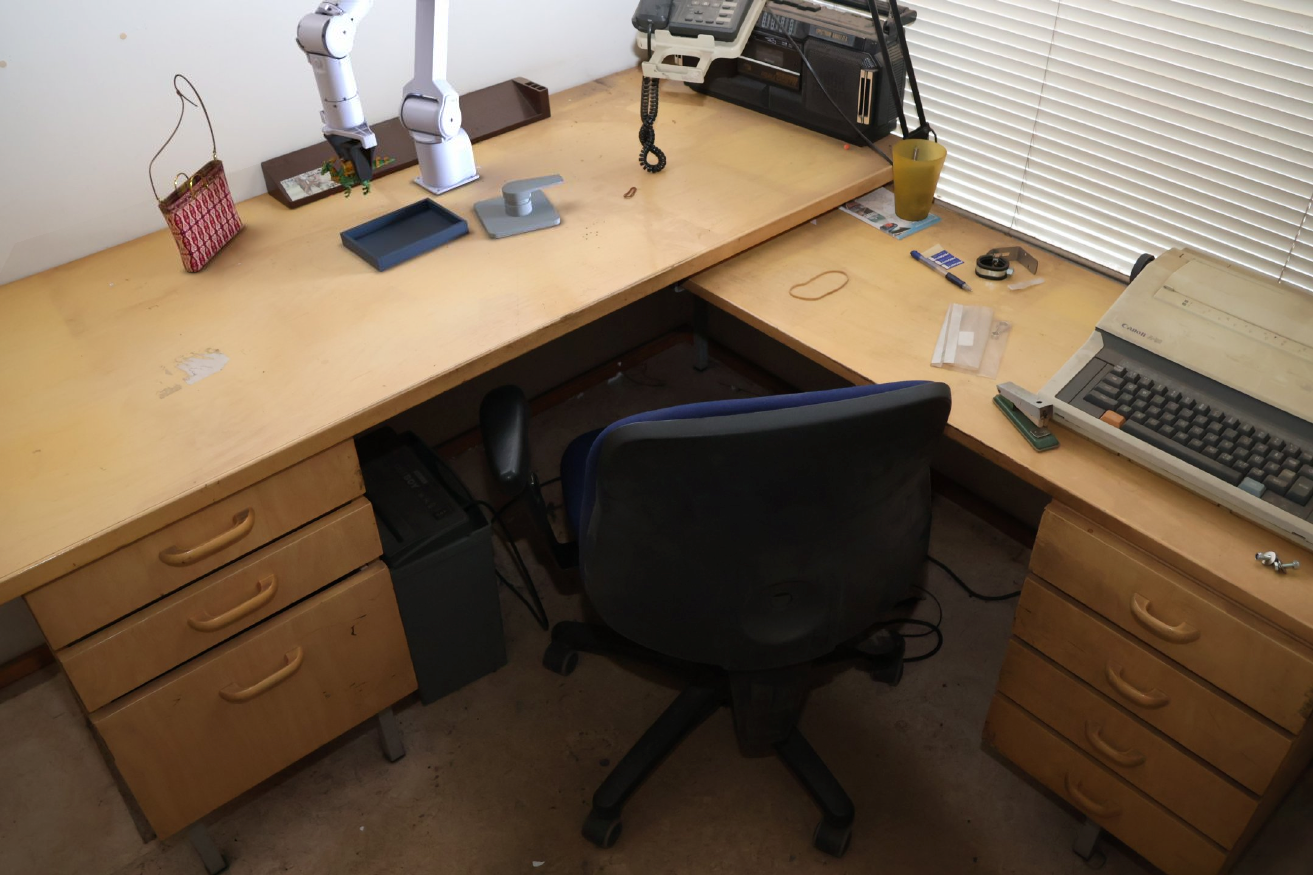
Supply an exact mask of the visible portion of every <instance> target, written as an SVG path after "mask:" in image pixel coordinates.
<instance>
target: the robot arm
mask: <svg viewBox="0 0 1313 875" xmlns="http://www.w3.org/2000/svg"><path fill="white" fill-rule="evenodd" d="M373 5H374V0H322V2H320V4H318V6H317V9H316V10H315V11H314V12H309V13H307V14H305V15H303V16H302V17H301V19H300V20H299V21H298V23H297V26H296V37H295V42H296V44H297V47H298V48H299V49H300V50H301V51H302V52H303V53H304V54H305V56H306V60H307V63H309V64H310V65H311V68H312V71H313V75H314V80H315V83H316V87H317V90H318V94H319V97H320V101H321V104H322V108H323V109H321V110H319V112H318V113H319V116H320V120H321V123H323V124H324V125H325V126H322V127H321V128H320V129H321V132H322V133H323V137H324V139H325V140H326V141H327V142H328V144H329V145H330V146H331V147H332V149H333V150H334V152H335V154H336V155H337V157H338V159H339V160H340V159H342V158H343V159H344V160H345V161H343V160H342V161H343V162H345V163H346V162H348V161H351V163H352V165H353V168H354V171H355V173H356V176H357V178H358V179H359V181H360V182H365V181H367V180H372V179H373V174H374V173H373V172H374V171H373V170H374V169H373V160H374V155H375V149H376V147H377V145H378V138H377V137H376V135H375V133H374V132H373V131H372V130H371V128H370V125H369V123H368V122H367V118H366V117H365V116H364V113H363V108H362V104H361V99H360V96H359V92H358V87H357V84H356V79H355V75H354V70H353V66H352V61H351V58H350V55H349V53H350V52H352V49H353V46H354V38H355V34H356V33H357V27H358V26H359V24H360V23H361V22H362V20H363V19H364V18H365V16H366V15H367V13H368V12H369V11H370V9H371V8H372V7H373ZM449 11H450V0H415V24H414V25H415V27H414V28H415V30H414V61H413V62H414V63H413V64H414V65H413V66H414V68H413V69H414V70H413V71H414V72H413V77H412V78H411V79H410V80H409V81H408V82H406V83H405V85H404V86H403V87H402V97H401V99H400V100H401V101H400V102H399V107H398V119H399V123H400V124H401V126H402V128H404V129H405V130H406V131H408V134H409V137H412V138H413V143H414V147H415V152H416V157H417V161H418V166H419V172H420V175H419V176H416V177H414V178H413V179H412V181H413V182H414V183H415V184H416V185H418V186H420V187H422V188H423V189H425V190H427V191H429V192H430V193H432V194H434V195H439V194H443V193H445V192H447V191H450V190H452V189H455V188H457V187H459V186H462V185H465V184H468V183H470V182H473V181H474V180H477V179H479V178H480V175H479V174H477V171H476V165H475V159H474V153H473V148H472V143H471V140H470V138H469V136H468V133H467V132H466V131H465V129H464V128H462V127H461V125H462V112H461V108H460V103H459V102H460V100H459V99H460V98H459V97H460V95H459V93H458V92H457V90H456V89H454V87H452V84H450V83H449V82H448V81H447V67H448V66H447V64H448V62H447V61H448V38H449Z"/></svg>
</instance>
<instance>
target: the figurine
mask: <svg viewBox="0 0 1313 875" xmlns="http://www.w3.org/2000/svg"><path fill="white" fill-rule="evenodd" d="M342 160H343V161H345V160H344V159H343V158H342V159H339V162H340V163H341V167H340V169H339V170H337V169H336V167H335V166H334V165H336V162H337V157H335V158H334V156H332V157H330V159H329V160H327V161H326V160H323V166H322V167H321V171H320V176H325V174H328V173H329V176H330V179H329V181H331V182H332V183H330V184H329V185H330V186H335V185H337V184H338V185H341V186H343V187H344V188H346V189H347V190H346V191H344V192H343V194H344V195H345V196H344V198H345V199H347V198H349V197H350V196H351V194H352V186H351V185H353V186H354V185H356V184H360V185H361V186H362V188H361V190H362V191H363V192H362V195H363V196H364V197H365V196H366V195H368V194H371V193H372V191H370V189H371V183H370V180H371V179H370V180H367V181H365V182H360V181H359V179H358V178H357V176H356V173H355V171H354V168H353V165H352V163H351V161H348V162H346V163H345V162H343V161H342ZM394 161H395V158H389V157H387V156H384V157H383V159H381V157H380V156H375V159H373V170H375V169H378V168H380V167H382V166H385V165H387V164H390V163H392V162H394ZM330 163H332V164H333V165H332V164H330Z"/></svg>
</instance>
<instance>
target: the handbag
mask: <svg viewBox="0 0 1313 875" xmlns="http://www.w3.org/2000/svg"><path fill="white" fill-rule="evenodd" d="M177 77H180V78H182V79H183V80H185V82H186V83H187V84H188V85H189V86H190V87H191V89H192V90H193V92H194V94H195V95H196V97H197V100H198V101H199V103H200V105H201V107H202V110H203V113H204V115H205V118H206V120H207V123H208V127H209V131H210V134H211V138H212V145H213V151H212V158H213V159H212V160H210V161H208V162H206V163H205V164H204V165H203V166H201V168H199V169H198V170H197V171H196V172H194V173H193V174H192V175H191V176H190V177H189V176H188V175H187V174H186V173H184V172H179V173H177V175H176V176H175V178H174V190H173V191H172V192H171V193H169V194H168V195H167V196H166V197H164V198H163V200H162V199H160V198H159V196H158V194H157V192H156V189H155V185H154V182H153V178H152V172H151V171H152V170H151V168H152V165H153V163H154V161H155V160H156V159H157V158H158V156H159V155H160V154H161V152H162V151H163V150H165V148H166V146H167V145H168V144H169V143H170V141H171V140H172V139H173V137H174V135H175V134H176V133H177V131H178V129H179V127H180V124H181V122H182V119H183V116H184V111H185V101H184V100H186V101H187V102H188V103H190V104H191V105H193V106H194V107H196V108H197V107H199V105H197V103H194V102H193V101H191V100H190V99H189V98H187V97H186V96H185V95H184V94H183V93H182V92H181V91H180V89H178V87H177V84H176V81H177ZM173 87H174V88H175V92H176V94H177V96H179V98H180V100H181V104H182V108H181V114H180V118H179V120H178V123H177V126H176V127H175V129H174V131H173V132H172V134H171V135H170V136H169V138H168V139H167V140H166V142H165V143H164V144H163V146H161V148H160V149H159V150H158V152H157V153H156V154H155V155H154V157H153V158H152V159H151V160H150V162H149V167H148V174H149V181H150V183H151V188H152V191H153V194H154V196H155V199H156V201H157V202H158V204H157V207H158V209H159V211H160V212H161V214H162V216H163V218H164V220H165V222H166V224H167V226H168V228H169V230H170V232H171V234H172V237H173V239H174V240H175V244H176V246H177V249H178V252H179V256H180V258H181V261H182V265H183V268H184V270H185V271H186V272H187V273H189V272H190V273H197V272H199V271H201V269H202V268H204V266H205V265H207V263H208V262H209V261H210V260H211V259H212V258H213V257H214V256H215V255H216V254H217V253H218V252H219V251H220V250H221V249H222V248H223V247H224V246H225V245H226V244H227V243H228V242H229V241H230V240H232V238H234V237H235V236H236V235H237V234H238V233H239V232H240V231H241V230H242V229H243V222H242V219H241V217H240V215H239V213H238V210H237V209H236V205H235V203H234V200H233V196H232V194H231V189H230V187H229V183H228V179H227V176H226V172H225V167H224V164H223V160H221V159H218V158H217V147H216V140H215V135H214V131H213V127H212V124H211V121H210V118H209V115H208V112H207V109H206V106H205V104H204V102H203V99H202V98H201V96H200V94H199V93H198V91H197V90H196V88H195V87H194V85H193V84H192V83H191V82H190V81H189V79H188V78H186V77H185V76H184V75H182V74H180V73H177V74H175V75H174V77H173ZM180 175H183V176H184V177H185V178H186V180H185V181H184V182H183V183H182V184H181V185H179V186H178V187H177V179H178V178H179V176H180Z"/></svg>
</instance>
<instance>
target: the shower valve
mask: <svg viewBox="0 0 1313 875" xmlns="http://www.w3.org/2000/svg"><path fill="white" fill-rule="evenodd" d="M564 183H565V182H564V178H563V176H562V175H561V174H559V173H557V174H551V175H545V176H538V177H537V176H536V177H533V178H526V179H519V180H513V181H509V182H507V183H505V184H503V185H502V187H501V192H502V196H498V197H494V198H489V199H484V200H479V201H477V202H474V203H473V210H474V213H475V214H476V216H477V217H478V220H479V221H480V223H481V225H482V227H483V228H484V230H485V232H486V234H487V236H488V237H489V239H492V240H497V239H501V238H507V237H510V236H515V235H520V234H523V233H528V232H533V231H537V230H542V229H545V228H550V227H554V226H558V225H559V224H560V223H561V216H560V215H559V214H558V212H557V211H556V208H554V206H553V205H552V204H551V202H550V200H549V199H548V197H547V196H546V195H545V193H544V192H543V189H546V188H551V187H554V186H558V185H561V184H564Z"/></svg>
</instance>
